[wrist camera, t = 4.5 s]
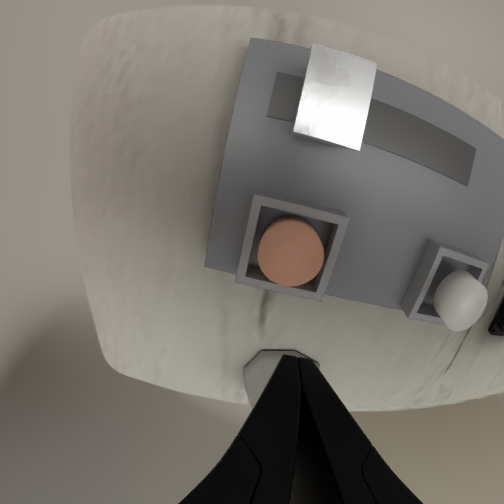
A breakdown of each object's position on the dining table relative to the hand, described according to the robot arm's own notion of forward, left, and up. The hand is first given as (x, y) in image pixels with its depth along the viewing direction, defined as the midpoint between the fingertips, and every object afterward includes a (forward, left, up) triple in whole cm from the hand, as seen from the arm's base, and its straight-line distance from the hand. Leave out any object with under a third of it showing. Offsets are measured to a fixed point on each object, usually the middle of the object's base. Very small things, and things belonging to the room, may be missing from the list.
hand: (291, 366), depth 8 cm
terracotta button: (0, 0, -10) cm, 10 cm away
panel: (-6, -4, -13) cm, 15 cm away
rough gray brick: (0, -8, -10) cm, 13 cm away
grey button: (-12, 0, -9) cm, 15 cm away
